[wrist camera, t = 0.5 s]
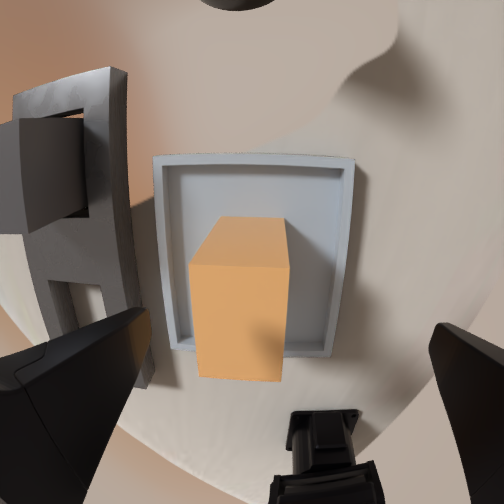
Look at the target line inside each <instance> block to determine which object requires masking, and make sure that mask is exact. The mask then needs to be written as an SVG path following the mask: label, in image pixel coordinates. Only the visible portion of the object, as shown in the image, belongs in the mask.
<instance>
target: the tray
mask: <svg viewBox="0 0 504 504" xmlns="http://www.w3.org/2000/svg"><path fill="white" fill-rule="evenodd" d="M354 169H355V159H352V158H345V157H332V156H317V155H298V154H271V153H196V154H172V155H171V154H170V155H158V156H153V182H154V201H155V217H156V230H157V242H158V253H159V263H160V273H161V282H162V290H163V298H164V306H165V313H166V320H167V327H168V334H169V340H170V347H171V349H175V350H185V351H195V352H196V345H195V335H194V326H193V315H192V304H191V292H190V280H189V266H188V264H189V263H190V261H191V260H192V258H193V257H194V255H195V254H196V252H197V251H198V249H199V248H200V246H201V245H202V243H203V242H204V240H205V239H206V237H207V236H208V234H209V233H210V231H211V230H212V228H213V227H214V225H215V224H216V223H217V221H218V220H219V218H220V217H221V216H230V217H268V218H284V221H285V230H286V238H287V247H288V256H289V266H290V273H289V288H288V303H287V316H286V329H285V342H284V353H283V357H331V353H332V348H333V343H334V337H335V332H336V326H337V320H338V314H339V308H340V301H341V295H342V288H343V281H344V273H345V266H346V258H347V249H348V240H349V231H350V221H351V210H352V198H353V185H354Z"/></svg>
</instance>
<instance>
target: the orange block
mask: <svg viewBox="0 0 504 504" xmlns="http://www.w3.org/2000/svg"><path fill="white" fill-rule="evenodd" d="M188 266H189V280H190V292H191V304H192V315H193V326H194V335H195V345H196V354H197V363H198V371H199V377H209V378H220V379H233V380H249V381H270V382H281V376H282V365H283V353H284V342H285V329H286V316H287V303H288V288H289V273H290V266H289V256H288V247H287V238H286V230H285V221H284V218H268V217H230V216H221V217H220V218H219V220H218V221H217V223H216V224H215V225H214V227H213V228H212V230H211V231H210V233H209V234H208V236H207V237H206V239H205V240H204V242H203V243H202V245H201V246H200V248H199V249H198V251H197V252H196V254H195V255H194V257H193V258H192V260H191V261H190V263H189V264H188Z"/></svg>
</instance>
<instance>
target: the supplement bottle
mask: <svg viewBox="0 0 504 504" xmlns="http://www.w3.org/2000/svg"><path fill="white" fill-rule="evenodd" d="M201 1H202V2H204V3H206V4H207V5H209V6H212V7H214V8H218V9H222V10H228V11H244V10H251V9H255V8H259V7H262V6H264V5H267V4H269V3H270V2H272V1H274V0H201Z"/></svg>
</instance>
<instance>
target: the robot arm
mask: <svg viewBox="0 0 504 504" xmlns="http://www.w3.org/2000/svg"><path fill="white" fill-rule="evenodd" d="M151 335H152V331H151V323H150V315H149V311H148V309H147V308H144V307H137V306H136V307H132V308H130V309H127V310H125V311H122V312H120V313H117V314H115V315H112V316H110V317H107V318H105V319H102V320H100V321H97V322H95V323H92V324H90V325H87V326H85V327H82V328H80V329H77V330H75V331H72V332H69V333H67V334H64V335H62V336H59V337H57V338H54V339H52V340H49V341H48V342H44V343H41V344H39V345H36V346H34V347H31V348H28V349H26V350H23V351H20V352H17V353H14V354H11V355H8V356H4V357H1V358H0V504H83V502H84V499H85V497H86V494H87V490H88V489H89V486H90V484H91V481H92V479H93V477H94V474H95V472H96V469H97V467H98V465H99V462H100V460H101V458H102V455H103V453H104V451H105V448H106V446H107V444H108V441H109V439H110V437H111V435H112V432H113V430H114V428H115V426H116V423H117V421H118V419H119V417H120V415H121V412H122V410H123V408H124V406H125V404H126V401H127V399H128V397H129V395H130V393H131V391H132V389H133V386H134V384H135V382H136V380H137V378H138V375H139V372H140V369H141V366H142V363H143V360H144V357H145V354H146V351H147V348H148V345H149V343H150V340H151ZM429 355H430V358H431V362H432V366H433V369H434V373H435V377H436V381H437V385H438V388H439V391H440V394H441V397H442V400H443V403H444V406H445V409H446V411H447V415H448V418H449V421H450V424H451V427H452V430H453V434H454V437H455V440H456V444H457V447H458V451H459V454H460V458H461V462H462V465H463V469H464V473H465V477H466V482H467V486H468V490H469V495H470V500H471V504H504V349H502V348H500V347H498V346H496V345H494V344H492V343H489V342H488V341H486V340H483V339H481V338H479V337H477V336H475V335H473V334H471V333H469V332H467V331H465V330H463V329H461V328H459V327H457V326H455V325H452V324H450V323H438V324H437V325H436V326H435V329H434V332H433V335H432V337H431V340H430V343H429ZM358 416H359V413H358V410H338V411H295V412H292V413H291V416H290V422H289V429H288V435H287V441H286V450H287V451H292V453H293V475H283V476H281V475H274V480H273V482H272V484H270V497H269V502H268V504H385V498H384V493H383V489H382V486H381V482H380V480H379V476H378V473H377V469H376V466H375V464H374V461H373V460H372V461H368V462H367V463H362V464H358V465H356V461H355V456H354V450H353V445H352V439H351V435H352V432H353V430H354V427H355V424H356V422H357V419H358Z"/></svg>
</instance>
